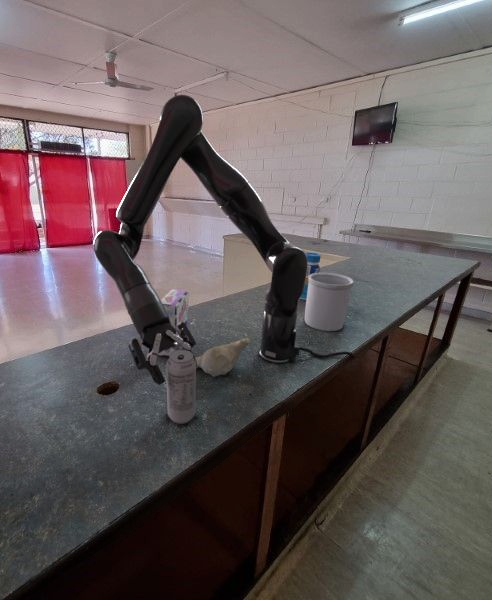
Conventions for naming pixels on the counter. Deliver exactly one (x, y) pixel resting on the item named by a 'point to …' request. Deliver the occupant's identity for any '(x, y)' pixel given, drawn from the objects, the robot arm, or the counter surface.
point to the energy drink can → (181, 386)
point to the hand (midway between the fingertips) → (178, 375)
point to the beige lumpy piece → (221, 357)
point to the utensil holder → (327, 300)
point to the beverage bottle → (310, 270)
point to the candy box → (175, 311)
